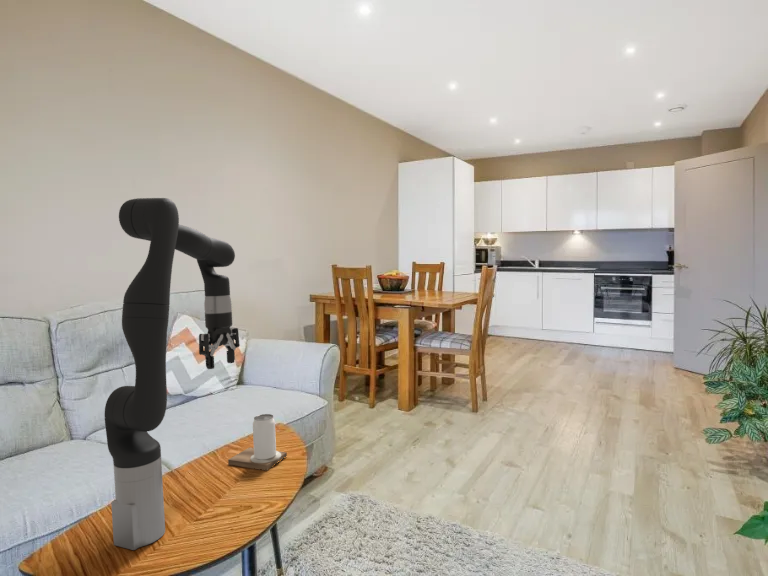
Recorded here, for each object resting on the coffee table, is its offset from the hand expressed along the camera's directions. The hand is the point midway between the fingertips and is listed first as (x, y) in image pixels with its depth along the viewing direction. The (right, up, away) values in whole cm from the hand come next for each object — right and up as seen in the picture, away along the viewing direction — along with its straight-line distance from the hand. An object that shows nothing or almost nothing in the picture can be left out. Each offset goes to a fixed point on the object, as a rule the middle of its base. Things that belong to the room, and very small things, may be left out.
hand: (221, 365), depth 138 cm
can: (+12, -28, +3) cm, 31 cm away
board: (+10, -30, +4) cm, 31 cm away
